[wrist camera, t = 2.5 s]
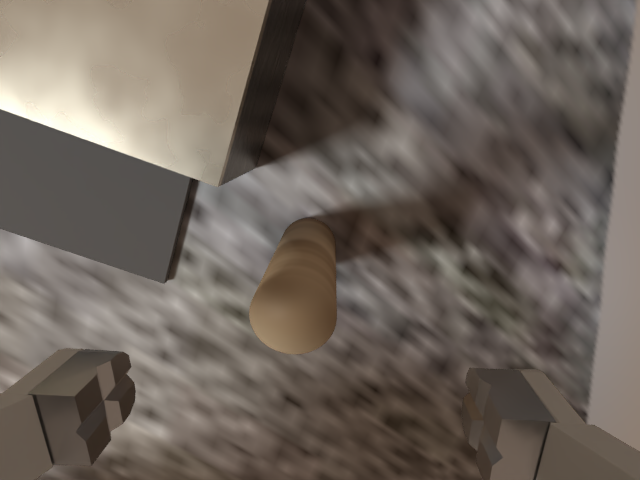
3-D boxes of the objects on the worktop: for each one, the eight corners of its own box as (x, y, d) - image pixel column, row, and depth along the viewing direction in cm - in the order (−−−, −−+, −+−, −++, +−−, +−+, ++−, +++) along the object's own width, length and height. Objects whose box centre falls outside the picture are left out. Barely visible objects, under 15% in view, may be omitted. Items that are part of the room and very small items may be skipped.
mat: (167, 280, 21) (164, 283, 20) (-5, 222, 20) (-12, 224, 20) (200, 147, 18) (197, 148, 18) (7, 77, 18) (0, 76, 17)
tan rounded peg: (324, 276, 20) (318, 364, 13) (274, 259, 20) (239, 338, 13) (343, 229, 20) (349, 293, 12) (291, 210, 19) (264, 263, 12)
